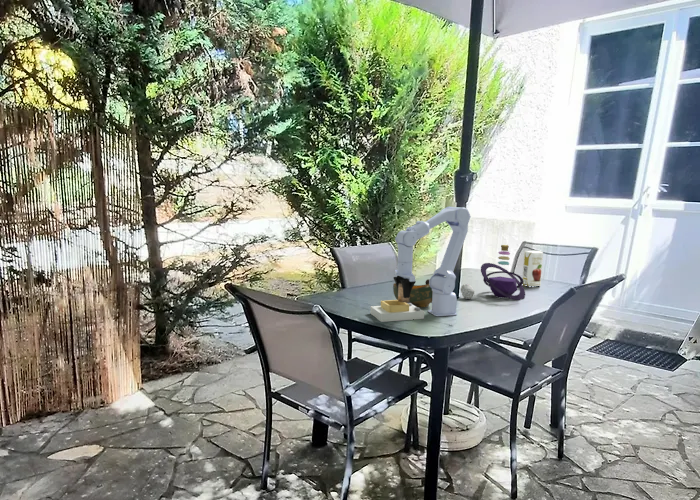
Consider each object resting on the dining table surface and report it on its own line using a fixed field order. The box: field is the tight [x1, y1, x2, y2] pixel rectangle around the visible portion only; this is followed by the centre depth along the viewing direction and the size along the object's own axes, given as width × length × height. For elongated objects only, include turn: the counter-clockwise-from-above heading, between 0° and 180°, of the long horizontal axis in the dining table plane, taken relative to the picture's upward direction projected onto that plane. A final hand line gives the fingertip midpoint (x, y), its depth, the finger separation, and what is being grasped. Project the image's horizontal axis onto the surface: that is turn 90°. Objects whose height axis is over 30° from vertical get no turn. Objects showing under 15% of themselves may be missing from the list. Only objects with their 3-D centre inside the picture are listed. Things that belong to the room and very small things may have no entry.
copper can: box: [398, 283, 410, 303], centre depth 175 cm, size 4×4×7 cm
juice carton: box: [521, 250, 544, 287], centre depth 241 cm, size 8×9×19 cm
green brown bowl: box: [392, 282, 433, 309], centre depth 198 cm, size 13×20×10 cm, turn 28°
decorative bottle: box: [480, 244, 526, 301], centre depth 215 cm, size 22×21×25 cm
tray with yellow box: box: [370, 299, 425, 323], centre depth 180 cm, size 18×12×6 cm, turn 108°
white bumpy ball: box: [460, 283, 475, 300], centre depth 211 cm, size 6×7×7 cm
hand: (403, 296), depth 176 cm, fingers closed on copper can, 4 cm apart
